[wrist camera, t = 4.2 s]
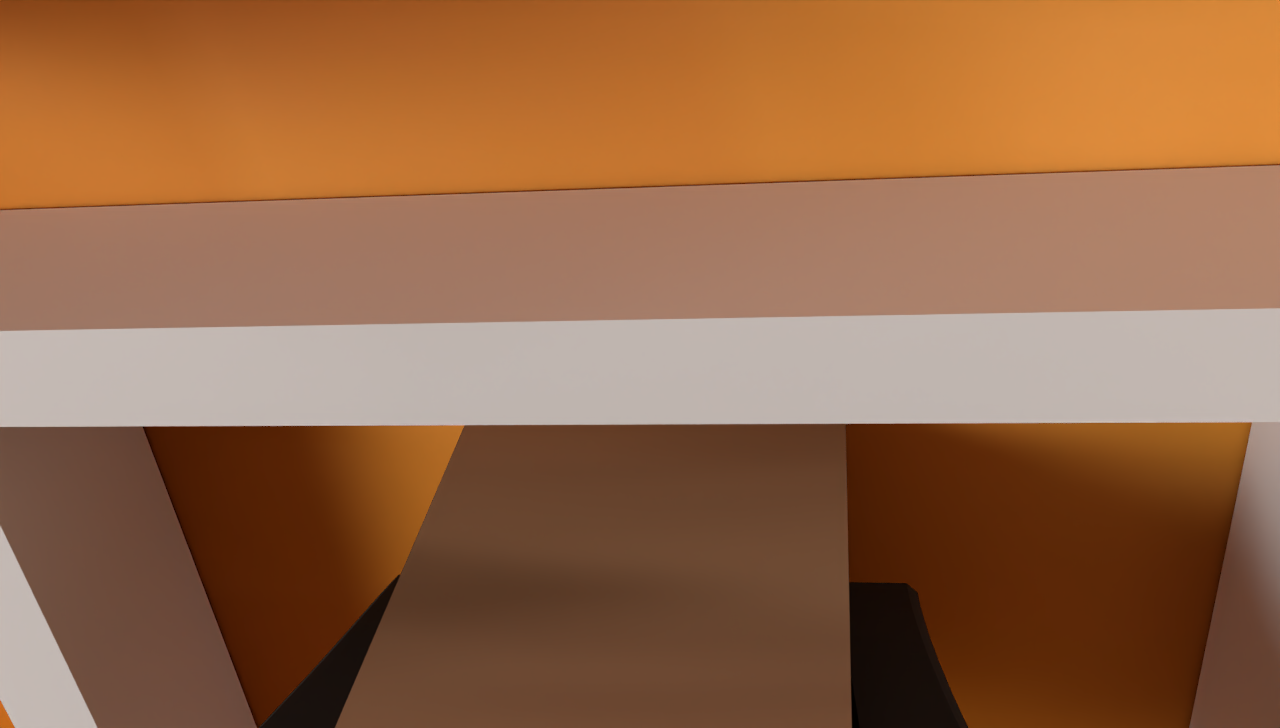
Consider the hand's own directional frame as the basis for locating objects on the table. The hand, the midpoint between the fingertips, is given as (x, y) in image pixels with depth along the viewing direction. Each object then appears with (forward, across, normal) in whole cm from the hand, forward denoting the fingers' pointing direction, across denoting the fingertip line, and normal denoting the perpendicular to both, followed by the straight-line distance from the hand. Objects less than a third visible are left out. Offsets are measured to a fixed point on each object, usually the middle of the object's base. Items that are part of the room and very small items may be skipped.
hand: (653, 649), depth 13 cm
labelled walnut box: (+2, 0, 0) cm, 2 cm away
